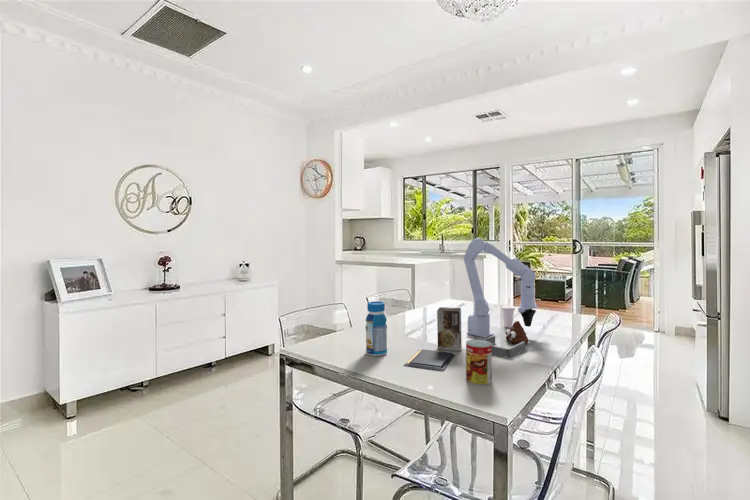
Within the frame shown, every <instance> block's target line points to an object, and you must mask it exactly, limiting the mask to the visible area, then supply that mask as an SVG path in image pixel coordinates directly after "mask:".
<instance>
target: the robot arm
mask: <svg viewBox="0 0 750 500" xmlns="http://www.w3.org/2000/svg"><path fill="white" fill-rule="evenodd" d="M482 252H483V253H485V254H486V253H487V254H492V256H494V257H495V258H497V259H498V260H499V261H502V262H503V263H504V264H505V268H506V269H507V270H509V271H510V272H512V273H513V274H514V275H516V277H519V278H520V279H521V283H520V305H519V307H518V309H517V310H518V311H517V312H518V313H519V314H520V315H521V317H522V321H523V324H524V327H528V328H530V327H531V326H532V321H533V318H534V316H535V314H536V309H538V306H537V305H538V304H537V303H535V302H536V300H535V299H536V297H535V296H536V293H535V289H536V286H535V280H536V278H537V276H536V273H535V272H534V270H532V269H531V268H530V267H529V265H527V264H526V265H525V264H524V263H523V262H521V261H520V259H519V258H518V257H509V256H507V255H506V254H505V253H503V252H502V251H501V250H499V249H498V248H497V247H495V245H493V244H491V243H489V242H487V241H484V240H483V239H482V238H479V237H476V238H474V239H473V240H471V242H469V244H468V246H467V249H466V251H465V253H464V256H463V262H464V265H465V269H466V272H467V277H468V280H469V284H470V288H471V292H472V297H473V301H474V306H473V307H474V312H473V313H470V314H469V315H468V317H467V332H466V334H467V335H471V336H475V337H481V338H488V337H490V336H491V335H492V336H493V335H494V332H491V330H490V329H491V328H490V327H491V326H490V325H491V321H490V319H491V318H490V317H491V314H490V313H489V312H490V307H489V303H488V301H487V300H486V299H485V295H484V291H483V289H482V288H483V287H482V284H481V281H480V277H479V273H478V269H477V265H476V262H475V260H476V259H477V257H478V256H479V254H481V253H482Z"/></svg>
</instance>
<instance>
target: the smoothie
mask: <svg viewBox="0 0 750 500" xmlns="http://www.w3.org/2000/svg"><path fill="white" fill-rule="evenodd" d="M500 309H501V310H502V311H501V314H502V320H503V327H504V328H511V327H512V326H513V324H514V322H513V321H514V315H515V307H514V306H511V297H510V298H508V305H502V306H501V308H500Z"/></svg>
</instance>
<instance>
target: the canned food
mask: <svg viewBox="0 0 750 500" xmlns="http://www.w3.org/2000/svg"><path fill="white" fill-rule="evenodd" d="M492 345H493V344H492V343H491V342H489V341H485V340H483V339H469V340H467V341H466V342H465V374H466V375H465V380H466V381H467V382H468V383H469V384H472V385H477V386H487V385H490V384H491V383H492V382H493V381H492V380H493V379H492V378H493V377H492V376H493V367H492V366H493V363H492V361H493V354H492Z"/></svg>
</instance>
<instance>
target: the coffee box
mask: <svg viewBox="0 0 750 500" xmlns="http://www.w3.org/2000/svg"><path fill="white" fill-rule="evenodd" d="M436 312H437V313H436V316H437V317H436V321H437V350H440V351H443V350H444V351H454V352H455V351H457V352H458V351H459V352H460V351H461V349H462V345H463V344H462V307H447V306H446V307H441V306H440V307H438V309H437V310H436Z"/></svg>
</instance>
